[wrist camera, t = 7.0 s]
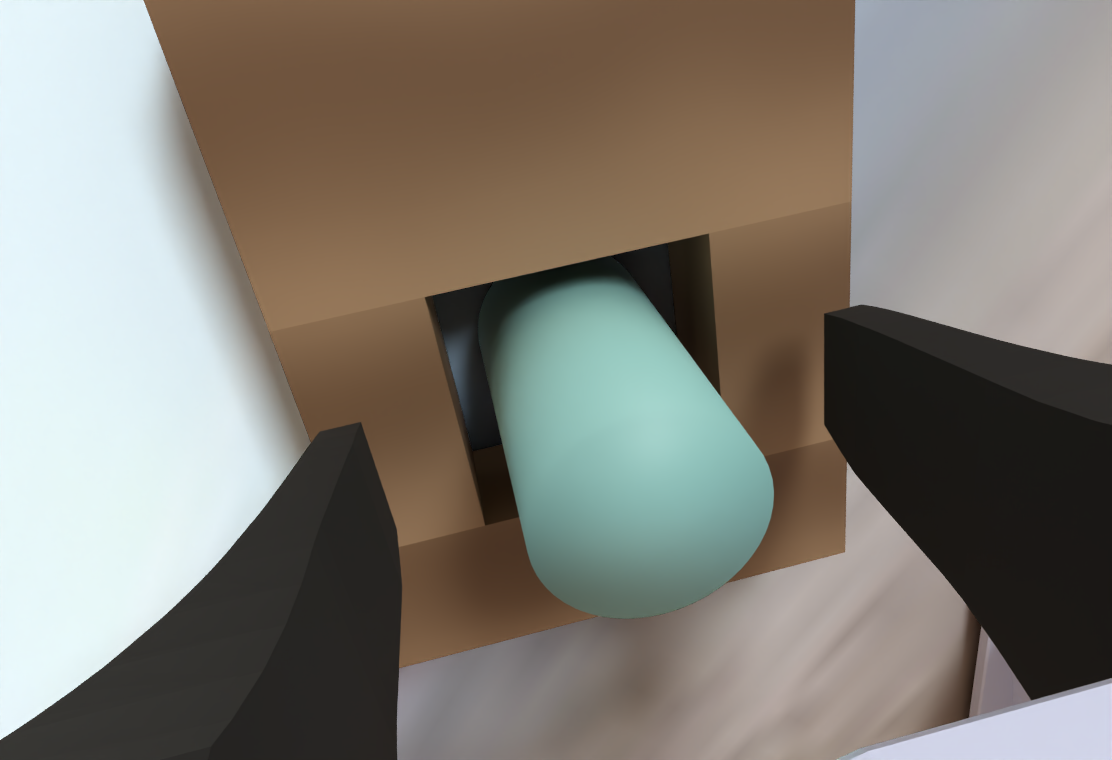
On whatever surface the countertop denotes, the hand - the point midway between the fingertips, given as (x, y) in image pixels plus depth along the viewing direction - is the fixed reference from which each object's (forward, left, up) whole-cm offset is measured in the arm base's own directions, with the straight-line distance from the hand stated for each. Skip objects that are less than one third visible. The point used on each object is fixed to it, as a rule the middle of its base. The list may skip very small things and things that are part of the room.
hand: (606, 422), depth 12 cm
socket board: (+1, 0, -3) cm, 4 cm away
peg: (0, 0, -3) cm, 4 cm away
